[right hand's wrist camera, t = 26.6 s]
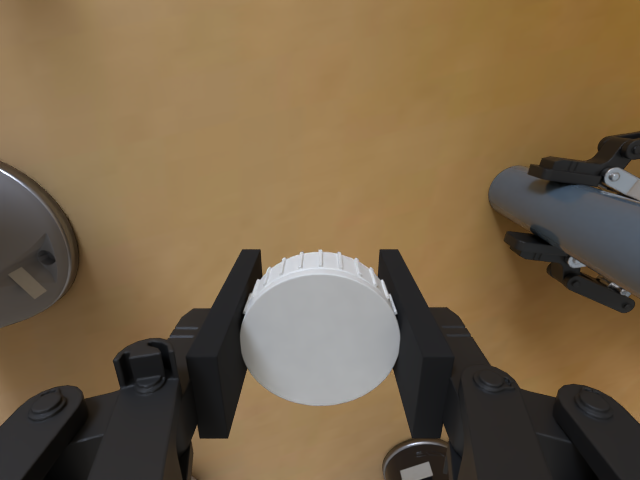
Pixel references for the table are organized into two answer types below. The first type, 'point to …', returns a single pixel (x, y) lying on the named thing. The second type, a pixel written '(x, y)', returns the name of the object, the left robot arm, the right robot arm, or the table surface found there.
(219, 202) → the table surface
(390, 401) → the table surface
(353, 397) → the lid
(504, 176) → the bottle
